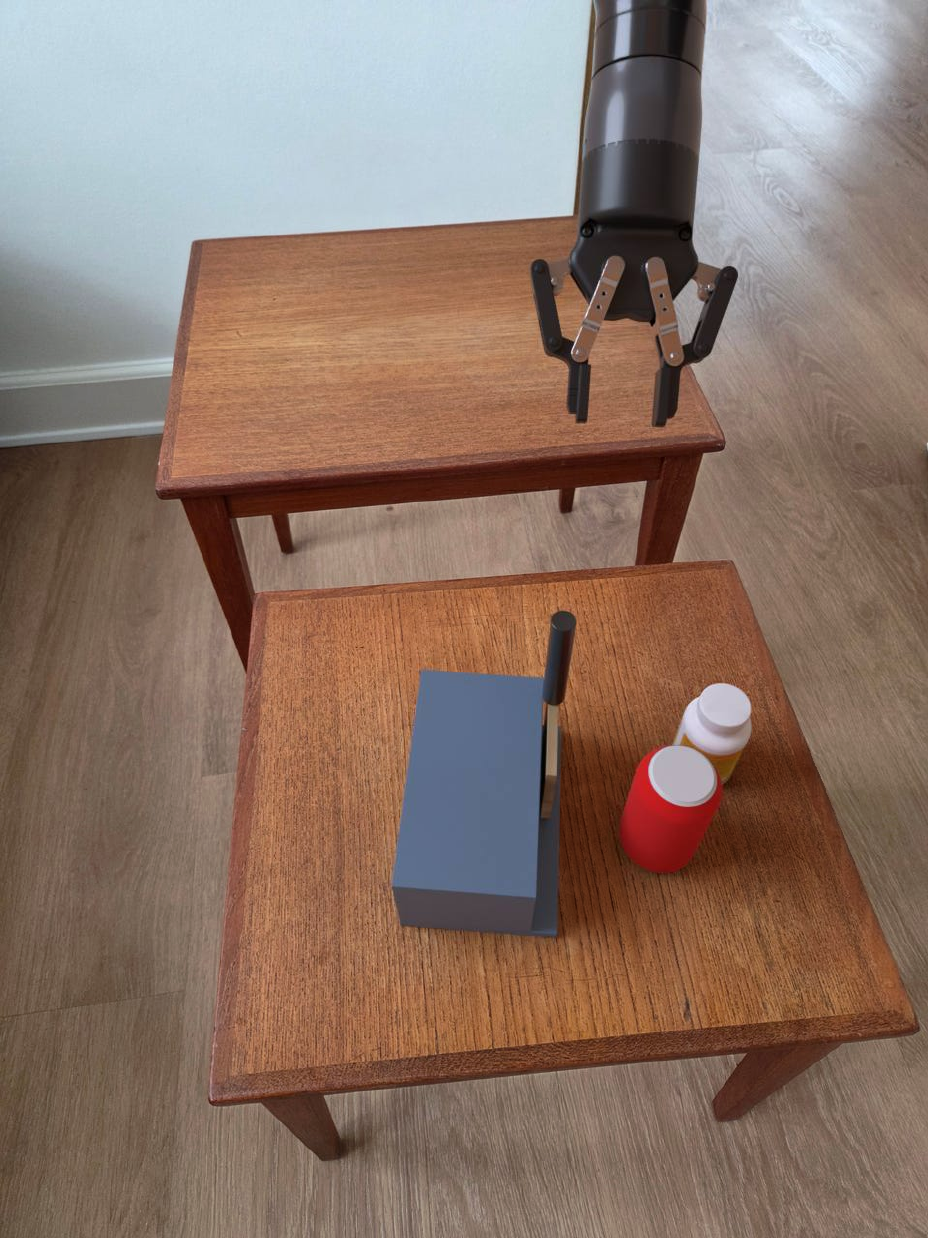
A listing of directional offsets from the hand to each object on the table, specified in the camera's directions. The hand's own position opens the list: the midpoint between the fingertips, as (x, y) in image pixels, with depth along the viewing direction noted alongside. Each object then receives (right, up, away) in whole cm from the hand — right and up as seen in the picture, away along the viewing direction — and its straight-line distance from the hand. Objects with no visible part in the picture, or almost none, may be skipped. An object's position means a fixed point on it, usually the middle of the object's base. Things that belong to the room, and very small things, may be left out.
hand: (620, 423), depth 58 cm
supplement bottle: (+10, -26, +16) cm, 32 cm away
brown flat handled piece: (-4, -26, +14) cm, 30 cm away
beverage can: (+5, -32, +12) cm, 34 cm away
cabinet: (-10, -30, +13) cm, 34 cm away
